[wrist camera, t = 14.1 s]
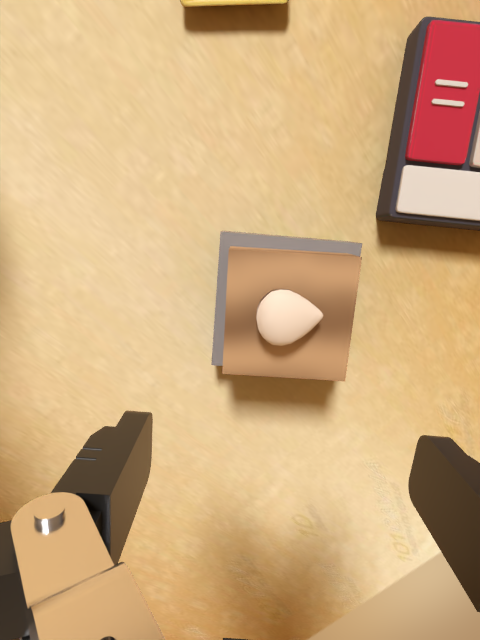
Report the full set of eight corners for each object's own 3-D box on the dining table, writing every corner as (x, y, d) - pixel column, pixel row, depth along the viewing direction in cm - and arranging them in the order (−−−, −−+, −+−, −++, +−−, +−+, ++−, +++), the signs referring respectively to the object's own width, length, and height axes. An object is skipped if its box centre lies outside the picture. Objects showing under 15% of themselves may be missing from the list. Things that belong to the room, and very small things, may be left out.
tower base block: (223, 230, 36) (220, 231, 32) (349, 241, 36) (362, 243, 32) (214, 351, 39) (211, 365, 35) (331, 360, 39) (341, 375, 35)
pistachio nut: (254, 287, 29) (255, 293, 27) (320, 284, 29) (327, 289, 27) (257, 341, 30) (257, 351, 28) (320, 338, 30) (326, 348, 28)
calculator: (573, 24, 28) (524, 230, 31) (530, 53, 33) (491, 232, 36) (426, 8, 28) (391, 216, 31) (403, 39, 33) (374, 220, 35)
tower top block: (230, 246, 33) (228, 249, 29) (347, 253, 33) (361, 257, 29) (224, 357, 35) (222, 373, 31) (333, 363, 35) (344, 381, 31)
